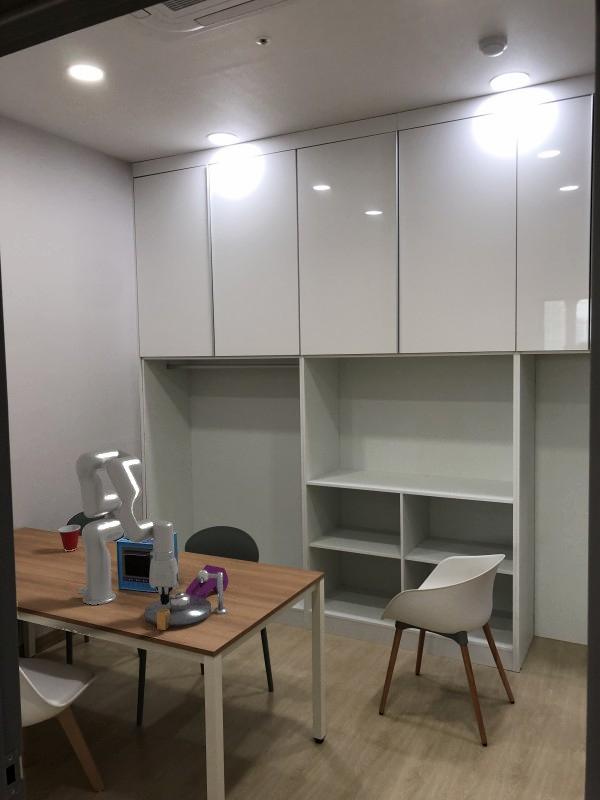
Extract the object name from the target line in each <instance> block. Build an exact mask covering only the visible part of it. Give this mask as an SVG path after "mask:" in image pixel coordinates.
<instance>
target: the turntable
mask: <svg viewBox="0 0 600 800" xmlns="http://www.w3.org/2000/svg"><path fill="white" fill-rule="evenodd" d="M189 599H190V607H189V608H188V609H187V610H184V611H173V610H171V609H170V601H169V603H167V604H166V605H161V601H160V599H157V600H154V601H153V602H151V603H149V604H148V605H147V606H146V607H145V609H144V618H145V620H146V621H148V622H150V623H152V624H153V625H156V627H157V628H156V629H157V630H161V631H166V630H167V629H169V627H177V626H184V625H191V624H194V623H198V622H200V621H202V620H205V619H206V618H207V617H209V616H210V614H211V612H212V603H211V601H210V600H208V599H206V598H201V597H197V596H189Z"/></svg>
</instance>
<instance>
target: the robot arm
mask: <svg viewBox="0 0 600 800" xmlns="http://www.w3.org/2000/svg"><path fill="white" fill-rule="evenodd" d="M103 471H106V473H107V476H108V477H109V479H110V482H111V483H112V485H113V487H114V490H113V489H106V490H104V488H103V487H104V486H103V481H102V479H101V477H100V475H99V474H98V473H99V472H103ZM75 472H76V476H77V479H78V483H79V487H80V489H79V490H80V496H81V497H80V498H81V504H82V505H81V506H82V512H83V515H84V516H85V517H86V518H88V519H94V518H99V517H102V516H104V518H100V519H97V520H94V521H91V522H88V523H87V524H86V525H85V526H84V527H83V528H82V530H81V539H82V543H83V548H84V557H85V560H84V561H85V585H86V586H85V587H79V588H78V591H77V593H78V595H83V597H82V603H84V604H85V603H86V604H85V605H89V604H91V605H90V606H97V604H99V605H105V604H108V603H111V602H113V601H114V600H115V599H116V593H115V592H113V591H112V565H111V564H112V563H111V553H110V549H109V548H108V547H107V545H106V544H108V543H110V542H113V541H115V540H117V539H120V538H121V537H122V536H124V535H123V534H125V535H126V538H127V539H128V540H129V541H130V542H131V543H134V544H139V543H143V542H145V541H148V540H152V551H150V552H149V555H150V556H152V558H151V560H150V565H149V578H148V579H149V580H148V581H149V583H148V584H149V585H150V588H152V589H155V590H157V592H158V594H159V596H160V598H159V600H160V601H161V605H166V604H167V603H169V601H170V597H171V596H170V593H171V592H172V591H173V590H178V589H179V588H180V586H179V581H180V577H179V575H180V574H179V566H178V561H177V558H176V557H175V538H174V537H175V536H174V533H175V532H174V524H173V521H169V520H162V519H160V518H157V517H148V518H145V519H142V520H138V521H137V519H136V517H135V515H134V511H133V507H134V503H135V502H136V500H138V498H140V497H141V495H142V493H143V491H142V488H141V487H140V484H139V482H138V480H137V479H136V478H137V477H138V476H140V475H141V474H142V472H143V463H142V461H141V460H140V459H139V458H138V456H136V455H134V454H131V453H129V452H127V451H125V450H122V449H119V448H118V447H107V448H102V449H94V450H90V451H87V452H83V453H81V455H80V456H78V458H77V460H76V463H75ZM97 472H98V473H97Z"/></svg>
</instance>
